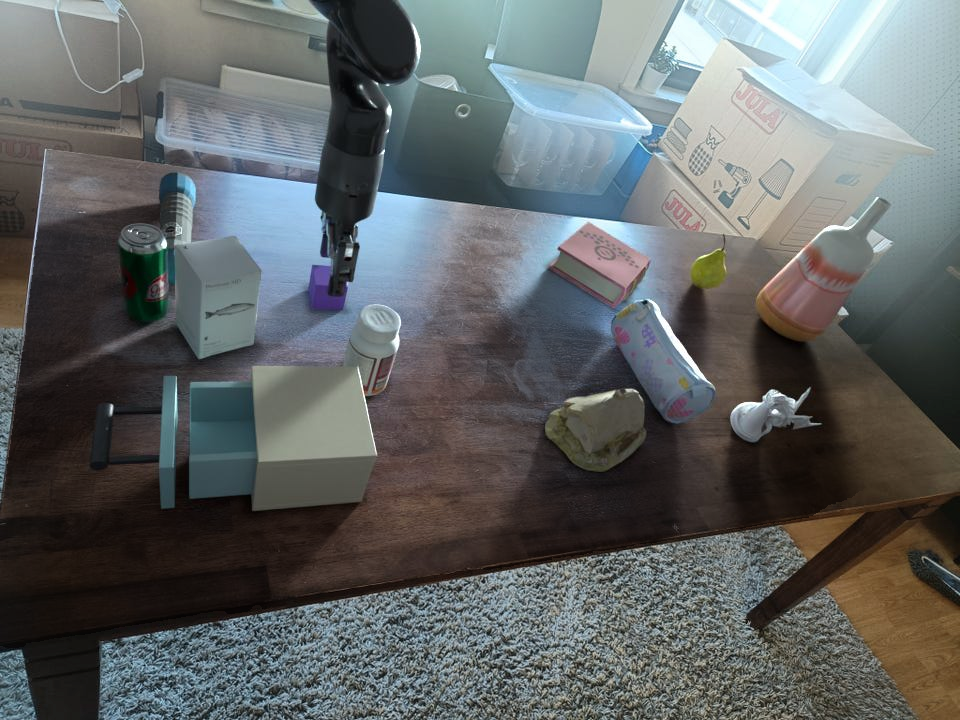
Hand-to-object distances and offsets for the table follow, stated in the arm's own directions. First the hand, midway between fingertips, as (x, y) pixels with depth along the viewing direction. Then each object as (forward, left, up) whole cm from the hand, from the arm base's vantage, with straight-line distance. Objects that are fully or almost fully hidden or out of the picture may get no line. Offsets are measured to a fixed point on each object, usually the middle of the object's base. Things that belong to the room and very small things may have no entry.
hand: (331, 275), depth 89 cm
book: (+53, +11, -5) cm, 54 cm away
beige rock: (+34, -27, -5) cm, 44 cm away
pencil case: (+50, -16, -5) cm, 53 cm away
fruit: (+78, +10, -5) cm, 79 cm away
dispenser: (-6, -28, -5) cm, 29 cm away
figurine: (+64, -29, -5) cm, 70 cm away
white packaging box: (-15, -8, -5) cm, 18 cm away
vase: (+93, -1, -5) cm, 93 cm away
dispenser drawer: (-18, -28, -4) cm, 34 cm away
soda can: (-23, -4, -5) cm, 24 cm away
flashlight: (-20, +11, -5) cm, 23 cm away
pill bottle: (+3, -16, -5) cm, 17 cm away
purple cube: (0, 0, -5) cm, 5 cm away
